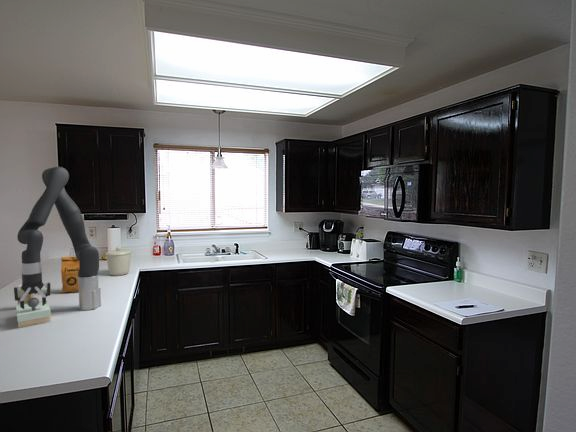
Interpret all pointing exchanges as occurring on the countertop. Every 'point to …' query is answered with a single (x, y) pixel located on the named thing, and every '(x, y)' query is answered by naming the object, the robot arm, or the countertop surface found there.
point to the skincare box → (25, 297)
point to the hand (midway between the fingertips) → (33, 306)
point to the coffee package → (70, 274)
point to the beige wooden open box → (33, 322)
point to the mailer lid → (33, 310)
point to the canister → (118, 261)
